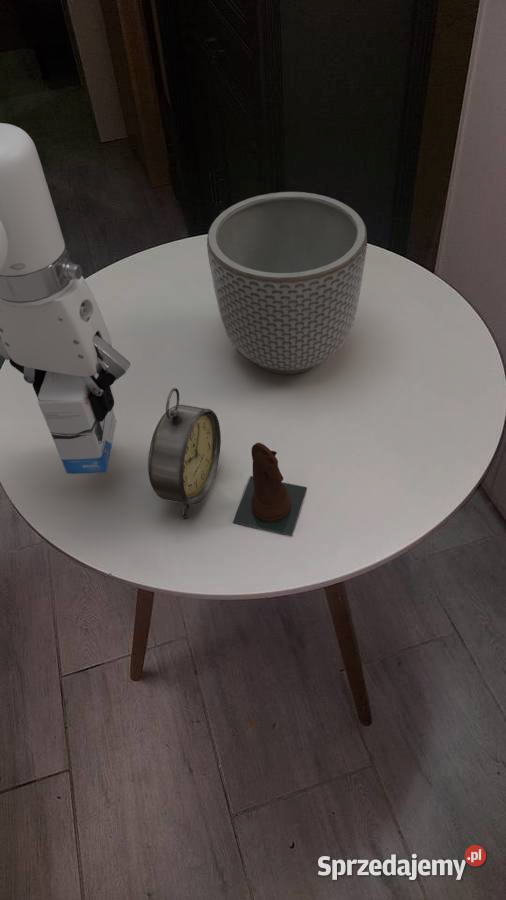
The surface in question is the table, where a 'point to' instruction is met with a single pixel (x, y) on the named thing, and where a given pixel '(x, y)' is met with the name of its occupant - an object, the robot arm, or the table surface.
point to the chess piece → (268, 486)
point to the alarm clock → (184, 453)
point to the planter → (287, 277)
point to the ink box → (76, 424)
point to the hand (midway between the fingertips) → (78, 406)
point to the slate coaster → (282, 526)
